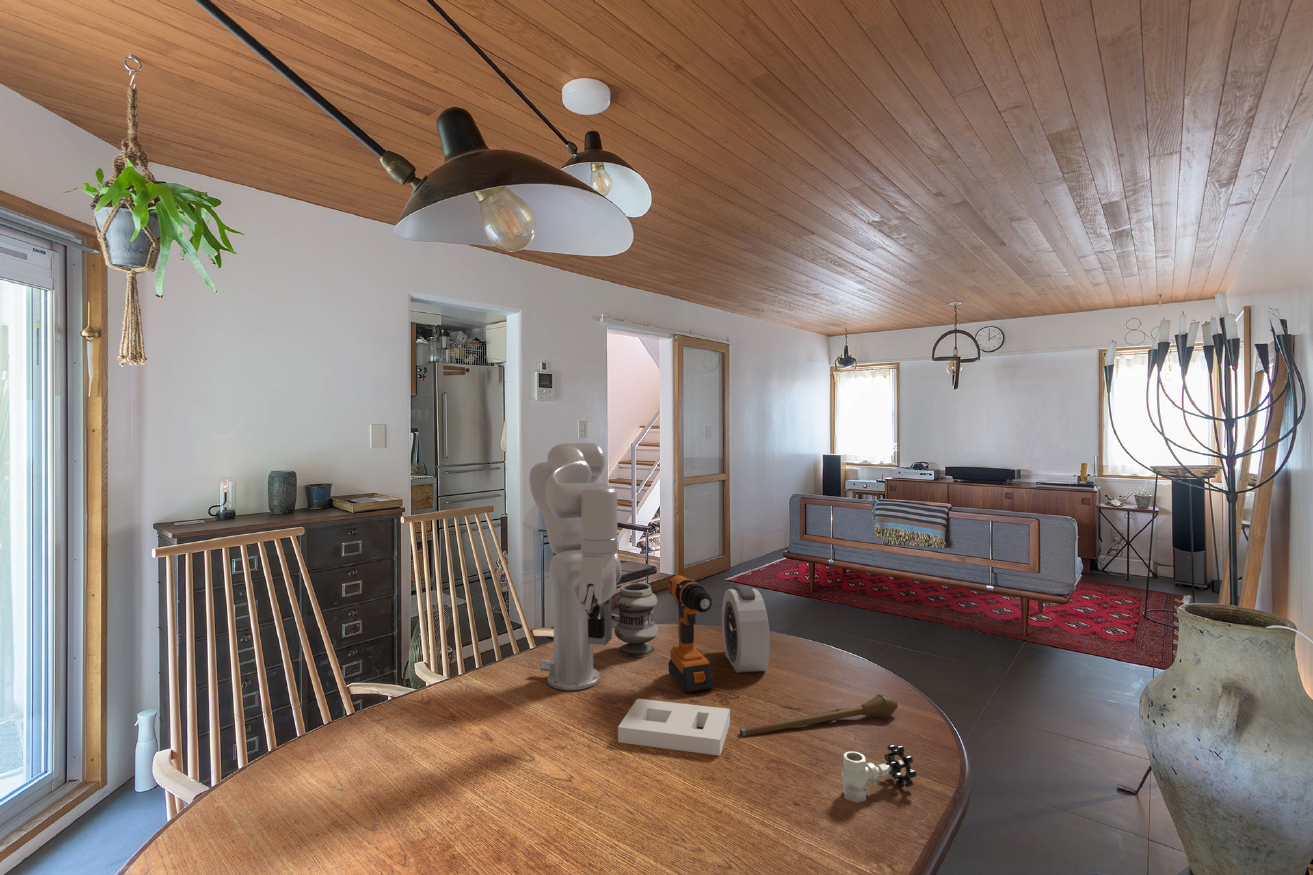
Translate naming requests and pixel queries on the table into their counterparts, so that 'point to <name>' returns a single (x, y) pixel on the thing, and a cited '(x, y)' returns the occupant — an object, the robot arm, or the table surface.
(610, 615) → the square peg
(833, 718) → the olive long knobbed bar
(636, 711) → the hole board
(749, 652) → the alarm clock
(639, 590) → the apothecary jar
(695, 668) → the power drill
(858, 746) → the table surface
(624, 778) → the table surface
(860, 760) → the valve
